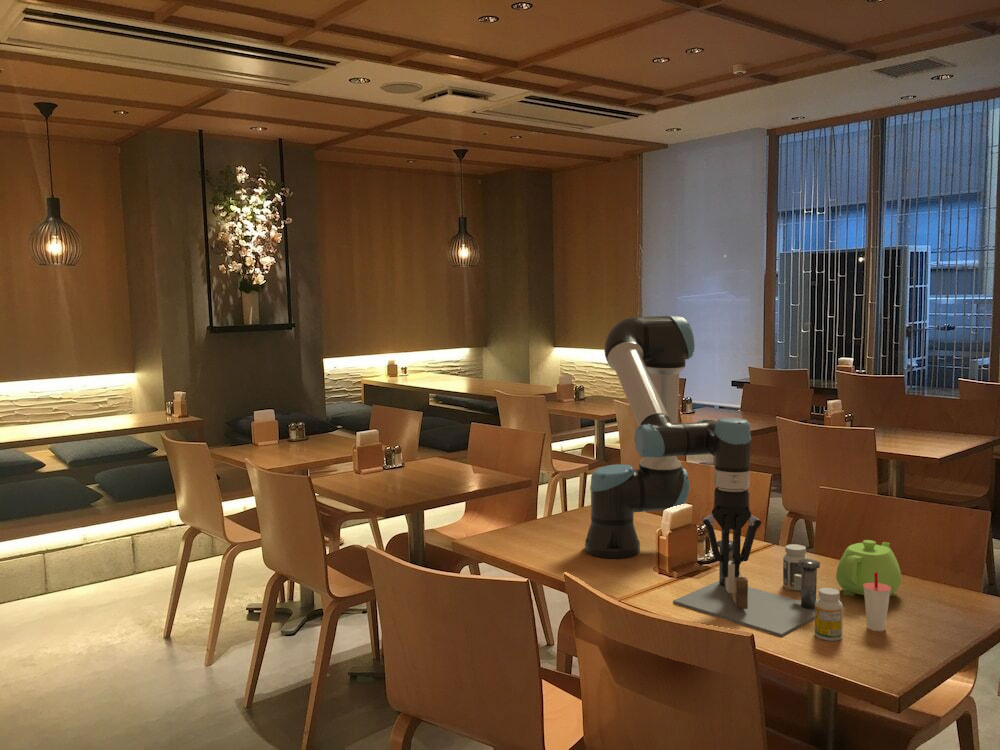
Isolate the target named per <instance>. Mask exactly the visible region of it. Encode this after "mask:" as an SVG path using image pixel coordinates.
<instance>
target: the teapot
mask: <svg viewBox="0 0 1000 750" xmlns="http://www.w3.org/2000/svg"><path fill="white" fill-rule="evenodd" d="M890 545H891V542H887V541H884V542H882V543H881V545H880V544H877V541H875V540H872V539H871V540H870V539H864V540H862V542H857V543H853V544H851V545H849V546H848V547H847V548H846V549H845V550H844V552H843V554H842V556H841V558H840V560H839V562H838V565H837V569H836V575H835V579H836V581H837V583H838V585H839V587H840V588H841V589H842V590H844V591H843V593H844V594H843V593H842V594H843V595H845V594H846V595H845V596H850V595H852V596H855V595H856V594H858V595H862V596H864V586H863V584H865V583H875V576H874V573H878V583H881V584H885V585H888V586H890V587H891V590H890V597H892V596H893V595H894V593H895V592H897V590H898V589H899V587H900V586H901V584H902V573H901V569H900V565H899V563H898V560H897V557H896V556H895V553H894V552H893V550H892V548H891V546H890Z"/></svg>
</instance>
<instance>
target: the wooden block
mask: <svg viewBox="0 0 1000 750" xmlns="http://www.w3.org/2000/svg"><path fill="white" fill-rule="evenodd" d="M729 561H733V558H732V557H729ZM748 583H749V580H748V578H747V577H746V576H743V575H742V573H741V572H740V571H739V577H735V585H734V593H730V595H731V597H732V599H733V600H734V602H735V604H736V606H737V607H738V609H748V587H749V584H748ZM724 585H725V586H726V577H724Z"/></svg>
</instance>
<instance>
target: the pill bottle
mask: <svg viewBox="0 0 1000 750" xmlns="http://www.w3.org/2000/svg"><path fill="white" fill-rule="evenodd" d="M784 549H785V550H784V551H785V553H786V554H784V556H783V557H782V561H783V562H782V564H783V565H782V570H783V571H782V576H783V577H782V584H783V585H782V586H783V587H784V588H786V589H787V590H791V591H797V592H799V591H800V592H801V590H800V589H796V588H794V575H795V574H799V575H801V567H800V566H799V560H801V559H809V558H808V557H807V556H806V553H807V548H806V546H804V545H801V544H796V543H795V544H794V543H793V544H791V543H790V544H787V545H786V546H785V548H784Z"/></svg>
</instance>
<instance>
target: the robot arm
mask: <svg viewBox="0 0 1000 750" xmlns="http://www.w3.org/2000/svg"><path fill="white" fill-rule="evenodd" d="M695 345H696V344H695V337H694V332H693V329H692V327H691V324H690V322H689V321H688V320H687V319H686V318H685V317H682V316H675V315H674V316H673V315H655V316H631V317H626V318H623V319H621V320H620V321H618V322H617V323H615V324H614V325H613V326H612V327H611V328H610V331H608V334H607V336H606V338H605V342H604V350H603V351H604V356H605V360H606V361H607V362H606V363H607V365H608V366H609V367H610V369H612V370H613V371H614V372H615V373H616V376H617V378H618V380H619V383H620V386H621V387H622V390H623V392H624V394H625V397H626V400H627V401H628V403H629V406H630V407H629V408H630V409H631V412H632V413H633V416H634V418H635V420H636V424H637V425H638V426H637V427H636V428H635V432H634V444H635V449H636V452H637V454H638V455H639V456H641V457H642V458H641V459H640V460H639V461H638V462H639V464H638V466H639V468H638V469H634V468H633V466H632V465H631V464H627V463H623V464H618V463H617V464H609V465H608V464H607V465H605V466H602V467H599V468H596V469H595V470H594V471H593V472H592V473H591V477H590V486H589V487H590V488H589V489H590V525H589V527H588V528H589V529H588V531H587V535H586V539H585V541H584V551H585V553H586V554H587V553H588V555H591V556H594V557H597V558H603V559H624V558H630V557H634V556H636V555H638V554H640V552H641V543H640V540H639V537H638V534H637V530H636V527H635V524H634V513H645V512H659V511H660V512H661V511H662V512H663V511H664V510H665V509H667V508H670V507H673V506H677V505H681V504H684V505H685V504H686V502H687V500H688V497H689V494H690V493H689V492H690V480H689V473H688V471H687V470H686V469H685V468H684V467H683V464H682V462H681V461H680V460H679V458H677V457H679V456H700V455H711V456H714V486H715V488H714V499H713V501H714V503H713V505H714V506H713V508H712V510H711V514H709V515H708V516H703V517H702V518H701V521H702V523H703V524H704V526H705V527H706V530H707V534H708V535H707V536H708V539H709V543H710V547H711V551H712V556H713V558H714V559H715V560H716V562H719V561H720V562H722V575H723V577H726V590H727V592H728V593H734V585H735V577H739V572H740V565H741V563H742V562H747V561H748V560H749V559H750V555H751V550H752V548H753V545H754V540H755V536H756V533H757V530H758V529H759V528H760V526H761V525H762V521H761V520H760V519H759V518H758V517H756V516H754V515H752V511H751V510H750V491H749V488H750V474H751V473H750V470H751V469H750V466H751V464H750V463H751V441H752V435H751V423H750V422H749V421H748V419H744V418H738V417H724V418H718V419H717V420H712V419H701V420H698V421H697V422H682V423H681V422H680V423H679V422H678V420H679V417H678V416H679V398H680V397H679V392H680V373H681V372H682V370H683V369H685V368H686V362H687V361H686V360H689V359H691V358H692V357H693V356H694V352H695ZM664 512H665V511H664ZM714 520H715V521H716V522H717V524H718V525H719V526H720V529H721V540H722V543H721V555H720V548H719V547H718V545H717V541H718V540H717V537H716V533H715V529H714V527H713V526H714V525H715V522H714ZM747 522H748V527H747V530H746V534H745V538H744V542H743V545H742V549H741V541H742V538H741V536H742V535H741V534H742V528H744V527H745V525H746V524H747ZM731 530H732V541H733V555H732V558H733V561H729V540H730V534H731V533H730V532H731Z"/></svg>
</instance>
